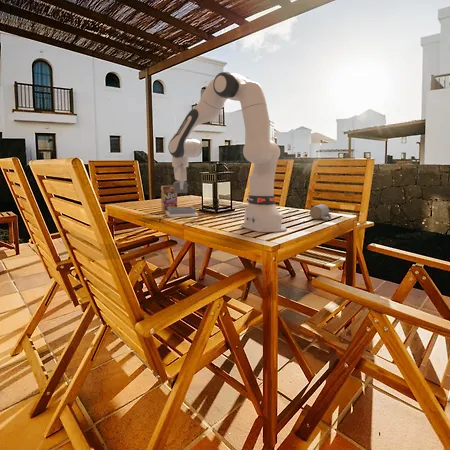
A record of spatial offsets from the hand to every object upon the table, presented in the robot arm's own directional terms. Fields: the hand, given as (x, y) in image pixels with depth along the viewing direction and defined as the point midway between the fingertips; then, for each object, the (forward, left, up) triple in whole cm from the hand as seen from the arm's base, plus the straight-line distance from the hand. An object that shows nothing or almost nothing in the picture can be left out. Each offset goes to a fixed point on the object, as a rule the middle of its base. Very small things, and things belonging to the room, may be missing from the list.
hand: (180, 188), depth 186 cm
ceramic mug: (-33, -69, -15) cm, 78 cm away
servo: (0, 0, -2) cm, 2 cm away
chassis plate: (0, 0, -14) cm, 14 cm away
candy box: (+14, +5, -15) cm, 21 cm away
